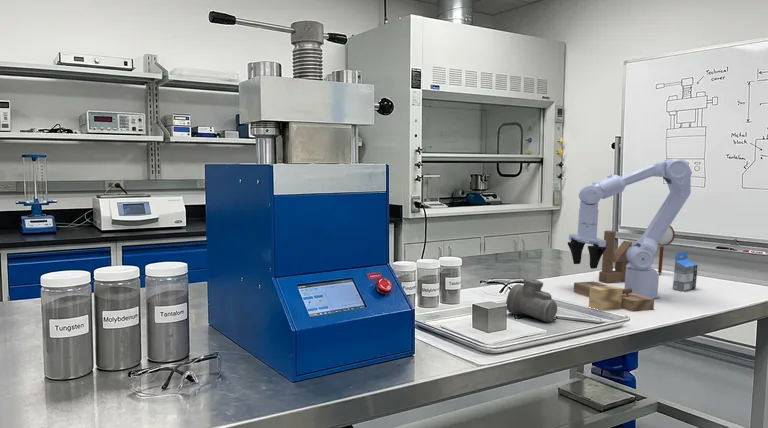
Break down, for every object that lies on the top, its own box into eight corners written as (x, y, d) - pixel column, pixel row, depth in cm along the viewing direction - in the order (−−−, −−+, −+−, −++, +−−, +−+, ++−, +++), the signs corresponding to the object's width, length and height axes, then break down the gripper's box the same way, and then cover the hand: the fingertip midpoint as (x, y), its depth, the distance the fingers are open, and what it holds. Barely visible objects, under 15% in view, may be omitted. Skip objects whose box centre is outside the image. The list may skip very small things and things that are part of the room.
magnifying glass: (672, 277, 209) (676, 223, 207) (669, 277, 208) (674, 224, 206) (649, 273, 216) (653, 221, 214) (647, 273, 215) (651, 221, 213)
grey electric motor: (501, 313, 148) (509, 275, 147) (518, 310, 154) (526, 274, 152) (540, 329, 139) (549, 289, 138) (557, 326, 145) (565, 288, 144)
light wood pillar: (623, 304, 164) (625, 284, 164) (634, 308, 160) (636, 287, 160) (588, 307, 159) (590, 286, 159) (598, 311, 156) (600, 289, 155)
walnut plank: (593, 290, 181) (594, 281, 181) (653, 309, 159) (654, 298, 159) (573, 291, 178) (574, 282, 178) (631, 311, 156) (632, 300, 156)
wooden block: (629, 281, 198) (633, 231, 196) (606, 283, 193) (609, 231, 192) (621, 279, 201) (624, 229, 199) (598, 281, 197) (601, 230, 195)
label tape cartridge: (683, 292, 184) (687, 254, 182) (671, 289, 187) (674, 253, 186) (696, 289, 189) (699, 253, 188) (684, 286, 192) (687, 251, 191)
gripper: (562, 221, 182) (559, 262, 183) (594, 226, 168) (591, 270, 170) (579, 220, 184) (577, 261, 186) (612, 226, 171) (609, 269, 172)
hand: (584, 266), depth 178 cm, fingers open, 7 cm apart
